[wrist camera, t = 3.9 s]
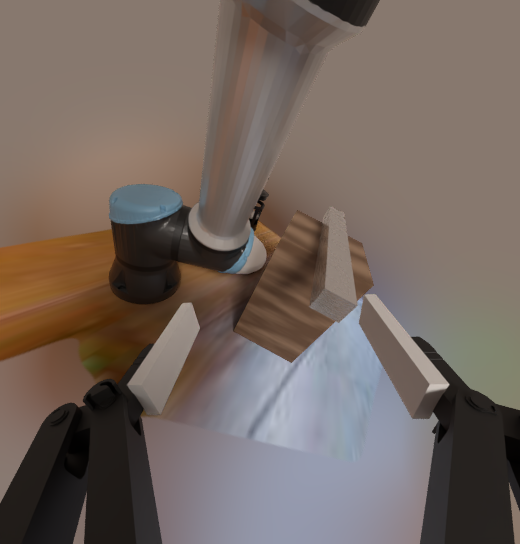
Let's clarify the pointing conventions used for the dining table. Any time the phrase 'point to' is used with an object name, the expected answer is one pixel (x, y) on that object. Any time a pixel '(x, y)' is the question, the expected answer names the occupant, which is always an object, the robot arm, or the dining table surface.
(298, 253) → the walnut stand
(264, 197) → the french press
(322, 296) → the metal bar
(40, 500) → the robot arm
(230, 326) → the dining table surface
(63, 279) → the dining table surface
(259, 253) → the plate
